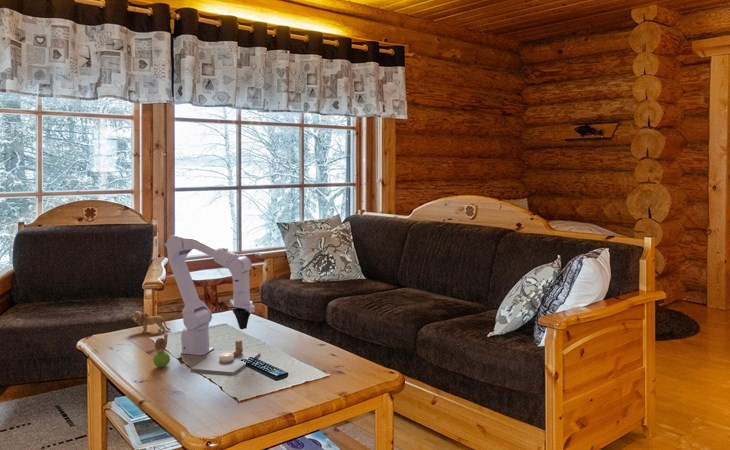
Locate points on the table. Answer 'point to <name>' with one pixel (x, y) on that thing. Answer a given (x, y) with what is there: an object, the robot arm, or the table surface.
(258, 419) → the table surface
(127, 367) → the table surface
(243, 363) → the stud board
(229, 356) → the brown white rounded rod
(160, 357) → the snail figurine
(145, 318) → the lion figurine
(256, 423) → the table surface
